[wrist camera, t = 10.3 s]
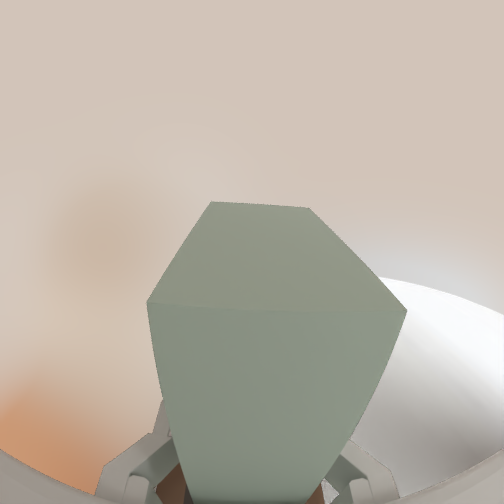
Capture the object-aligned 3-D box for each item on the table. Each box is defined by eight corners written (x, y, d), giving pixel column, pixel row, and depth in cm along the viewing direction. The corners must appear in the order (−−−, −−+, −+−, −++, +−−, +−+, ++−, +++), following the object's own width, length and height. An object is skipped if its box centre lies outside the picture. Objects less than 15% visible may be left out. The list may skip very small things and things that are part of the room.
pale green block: (263, 467, 14) (308, 207, 9) (267, 546, 8) (407, 309, 3) (215, 465, 14) (210, 201, 9) (210, 545, 8) (146, 302, 3)
